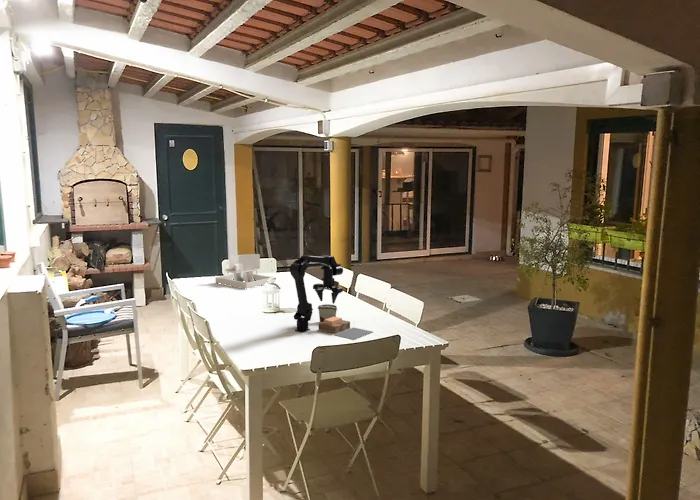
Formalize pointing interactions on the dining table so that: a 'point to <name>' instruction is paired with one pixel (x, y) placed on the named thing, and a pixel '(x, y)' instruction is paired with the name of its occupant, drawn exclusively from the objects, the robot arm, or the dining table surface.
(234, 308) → the dining table surface
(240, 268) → the architectural model
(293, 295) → the dining table surface
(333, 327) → the brown flat block
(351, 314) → the dining table surface
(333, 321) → the peach block
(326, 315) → the food container
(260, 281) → the holder corral
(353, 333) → the mat
